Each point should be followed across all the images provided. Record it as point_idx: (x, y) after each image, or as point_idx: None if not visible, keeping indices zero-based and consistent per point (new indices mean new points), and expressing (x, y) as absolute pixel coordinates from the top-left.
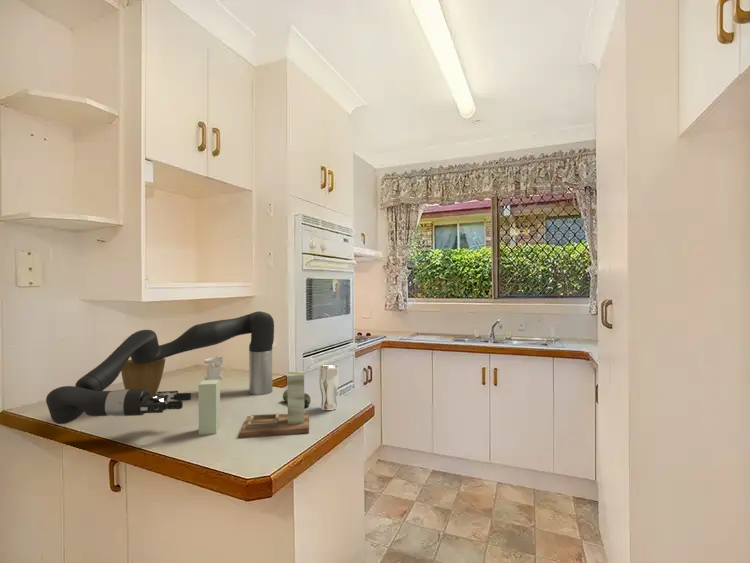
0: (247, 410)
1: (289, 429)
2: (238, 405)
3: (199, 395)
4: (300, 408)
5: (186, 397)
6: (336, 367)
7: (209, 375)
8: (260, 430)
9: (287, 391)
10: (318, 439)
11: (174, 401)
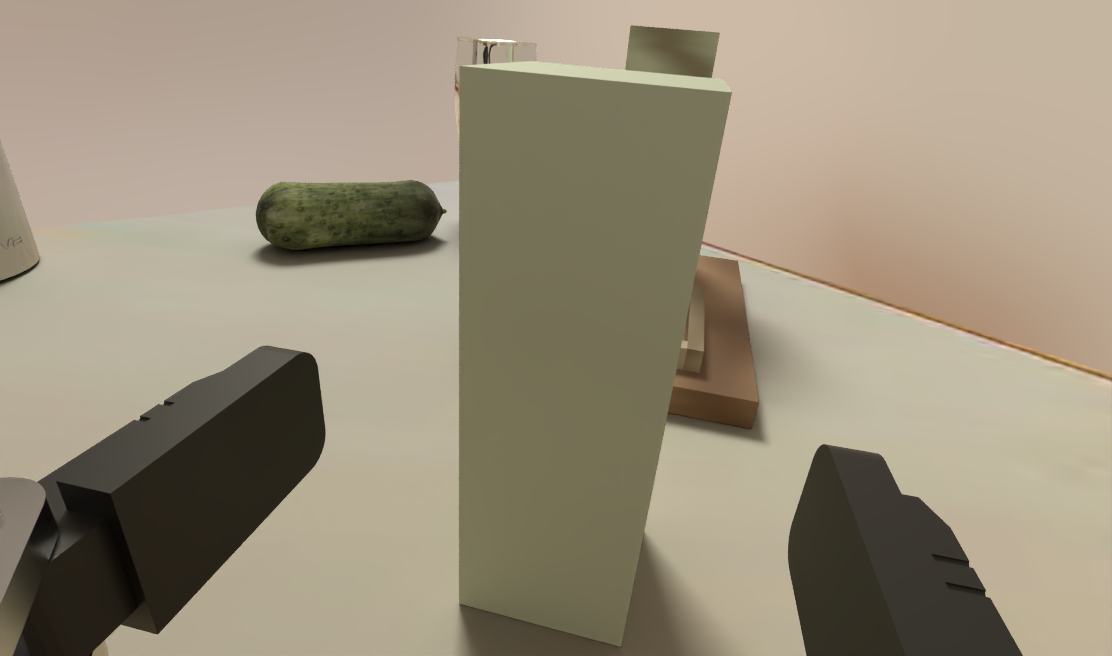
0: None
1: (741, 288)
2: (77, 369)
3: (694, 265)
4: None
5: (277, 447)
6: (527, 42)
7: None
8: (737, 342)
9: (300, 195)
10: (797, 277)
11: (923, 548)
